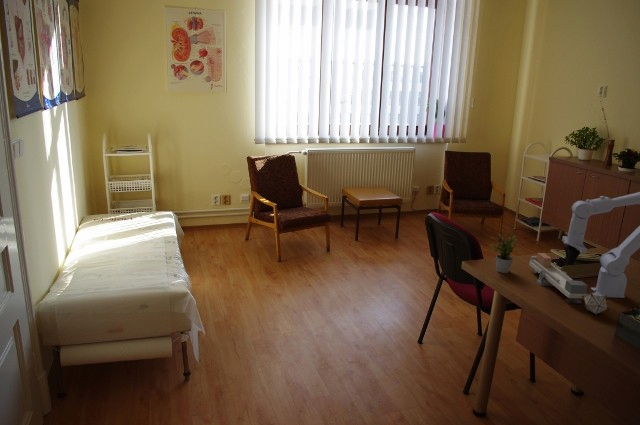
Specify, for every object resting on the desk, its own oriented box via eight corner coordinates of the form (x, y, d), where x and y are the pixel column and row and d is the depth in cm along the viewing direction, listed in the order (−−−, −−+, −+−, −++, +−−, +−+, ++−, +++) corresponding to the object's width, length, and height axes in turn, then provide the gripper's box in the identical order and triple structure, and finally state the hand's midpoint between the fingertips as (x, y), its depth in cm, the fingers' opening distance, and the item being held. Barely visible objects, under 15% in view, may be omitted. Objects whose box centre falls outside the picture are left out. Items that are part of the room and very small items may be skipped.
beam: (587, 298, 184) (590, 285, 182) (567, 298, 183) (570, 285, 182) (545, 265, 215) (547, 254, 214) (528, 264, 215) (530, 253, 214)
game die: (597, 323, 179) (621, 309, 173) (581, 317, 176) (604, 303, 170) (587, 302, 185) (609, 288, 179) (571, 296, 182) (593, 282, 176)
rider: (549, 268, 207) (551, 258, 206) (542, 268, 207) (544, 258, 206) (542, 263, 213) (544, 253, 212) (535, 262, 213) (537, 252, 212)
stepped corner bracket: (589, 304, 185) (592, 292, 184) (561, 304, 184) (563, 291, 183) (549, 272, 215) (551, 261, 213) (525, 271, 214) (526, 260, 213)
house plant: (493, 261, 225) (498, 226, 220) (524, 269, 216) (530, 234, 212) (480, 269, 214) (485, 233, 210) (511, 278, 206) (518, 241, 201)
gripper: (557, 225, 199) (551, 256, 203) (576, 237, 185) (569, 270, 189) (574, 226, 199) (567, 257, 203) (595, 238, 186) (587, 271, 189)
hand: (569, 264), depth 196 cm, fingers closed
